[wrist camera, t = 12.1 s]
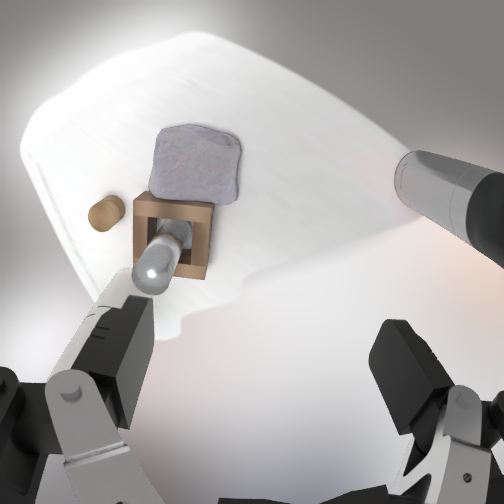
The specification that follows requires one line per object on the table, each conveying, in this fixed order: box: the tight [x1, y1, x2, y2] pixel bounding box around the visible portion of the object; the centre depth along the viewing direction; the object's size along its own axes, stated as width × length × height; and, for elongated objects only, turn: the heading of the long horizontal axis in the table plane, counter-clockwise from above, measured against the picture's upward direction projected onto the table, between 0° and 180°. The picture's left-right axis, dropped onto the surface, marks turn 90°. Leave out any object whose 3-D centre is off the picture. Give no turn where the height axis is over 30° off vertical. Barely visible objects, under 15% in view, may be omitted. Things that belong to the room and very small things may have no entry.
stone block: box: [149, 125, 241, 205], centre depth 38 cm, size 12×5×10 cm
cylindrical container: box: [46, 268, 153, 383], centre depth 35 cm, size 7×7×25 cm
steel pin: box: [131, 219, 191, 295], centre depth 36 cm, size 4×4×15 cm
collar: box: [133, 191, 214, 280], centre depth 41 cm, size 10×10×5 cm
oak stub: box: [88, 195, 125, 232], centre depth 39 cm, size 4×4×4 cm
